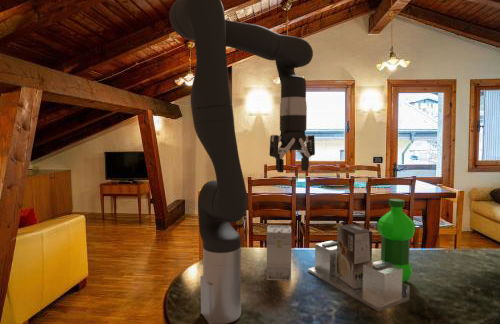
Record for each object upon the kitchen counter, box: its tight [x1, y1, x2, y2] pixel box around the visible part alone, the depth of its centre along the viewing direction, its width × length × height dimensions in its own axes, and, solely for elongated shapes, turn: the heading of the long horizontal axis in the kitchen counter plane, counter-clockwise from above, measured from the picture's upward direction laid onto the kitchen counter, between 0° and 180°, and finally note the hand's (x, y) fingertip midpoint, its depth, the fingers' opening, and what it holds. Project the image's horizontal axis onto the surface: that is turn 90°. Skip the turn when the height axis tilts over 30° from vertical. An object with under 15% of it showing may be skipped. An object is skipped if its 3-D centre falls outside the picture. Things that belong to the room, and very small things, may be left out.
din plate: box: [307, 240, 411, 312], centre depth 97 cm, size 12×28×10 cm, turn 29°
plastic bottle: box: [376, 198, 416, 283], centre depth 99 cm, size 10×10×25 cm
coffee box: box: [336, 223, 373, 289], centre depth 96 cm, size 9×6×16 cm
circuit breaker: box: [266, 224, 292, 282], centre depth 106 cm, size 8×14×15 cm, turn 174°
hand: (292, 171), depth 93 cm, fingers open, 8 cm apart
